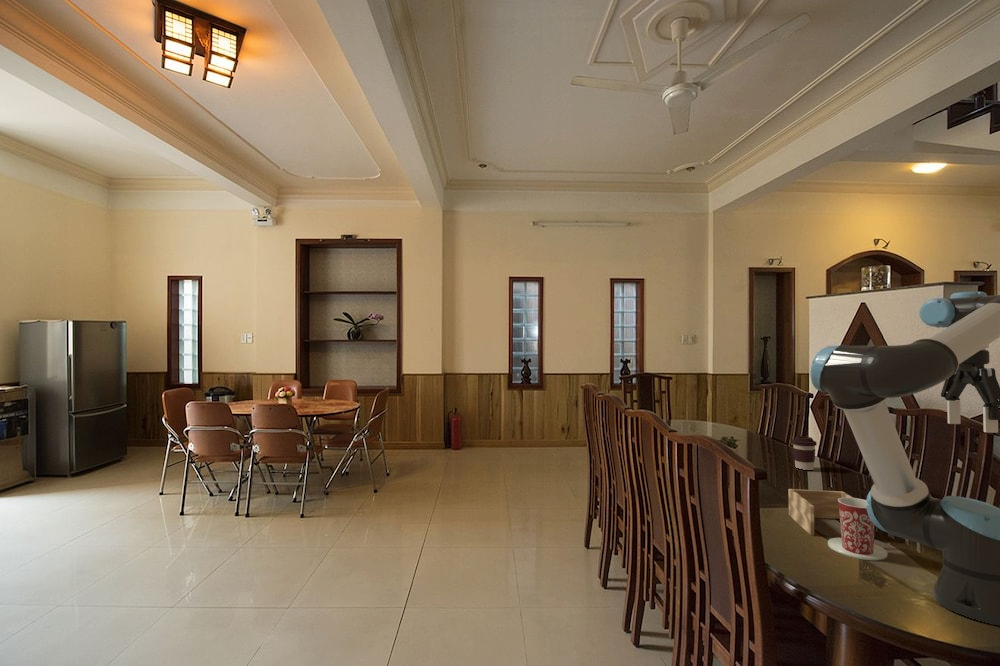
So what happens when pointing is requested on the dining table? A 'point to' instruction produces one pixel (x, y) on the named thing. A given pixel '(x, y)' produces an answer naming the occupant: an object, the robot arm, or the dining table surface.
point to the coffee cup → (804, 452)
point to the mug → (856, 526)
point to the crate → (813, 506)
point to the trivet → (837, 547)
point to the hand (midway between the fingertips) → (971, 428)
